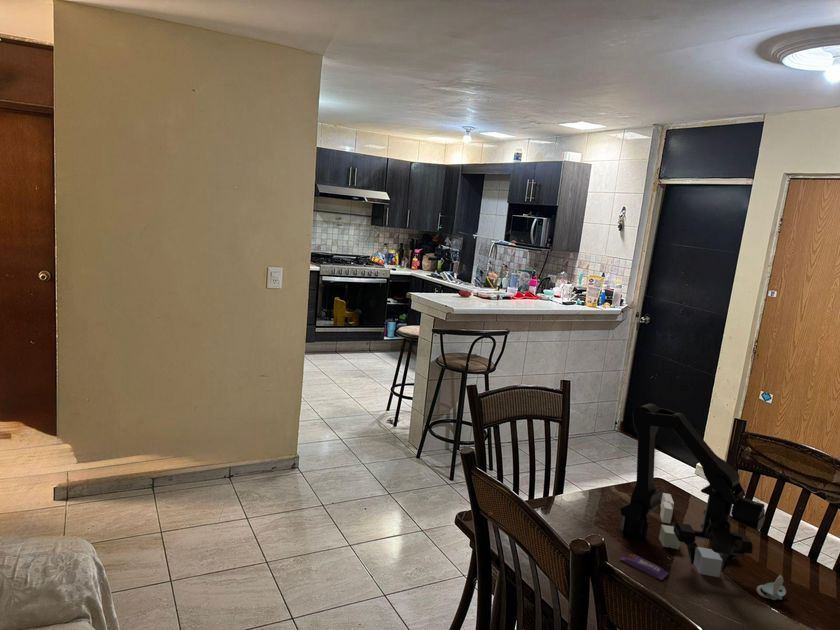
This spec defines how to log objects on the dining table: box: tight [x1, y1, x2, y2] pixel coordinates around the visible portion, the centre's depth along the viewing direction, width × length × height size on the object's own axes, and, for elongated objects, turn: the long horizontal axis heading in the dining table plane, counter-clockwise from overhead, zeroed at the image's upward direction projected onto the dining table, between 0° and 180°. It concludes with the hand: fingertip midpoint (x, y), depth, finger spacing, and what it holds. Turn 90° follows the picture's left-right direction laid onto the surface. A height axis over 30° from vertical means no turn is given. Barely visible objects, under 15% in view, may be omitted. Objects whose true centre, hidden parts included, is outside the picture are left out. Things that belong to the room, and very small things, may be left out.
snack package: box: [619, 552, 670, 581], centre depth 154 cm, size 12×2×5 cm
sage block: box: [658, 524, 681, 550], centre depth 168 cm, size 4×4×4 cm
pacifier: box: [756, 574, 787, 601], centre depth 147 cm, size 7×6×6 cm
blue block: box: [693, 546, 723, 578], centre depth 156 cm, size 5×5×5 cm
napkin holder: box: [659, 492, 675, 525], centre depth 185 cm, size 15×11×6 cm
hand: (706, 566), depth 156 cm, fingers open, 8 cm apart
